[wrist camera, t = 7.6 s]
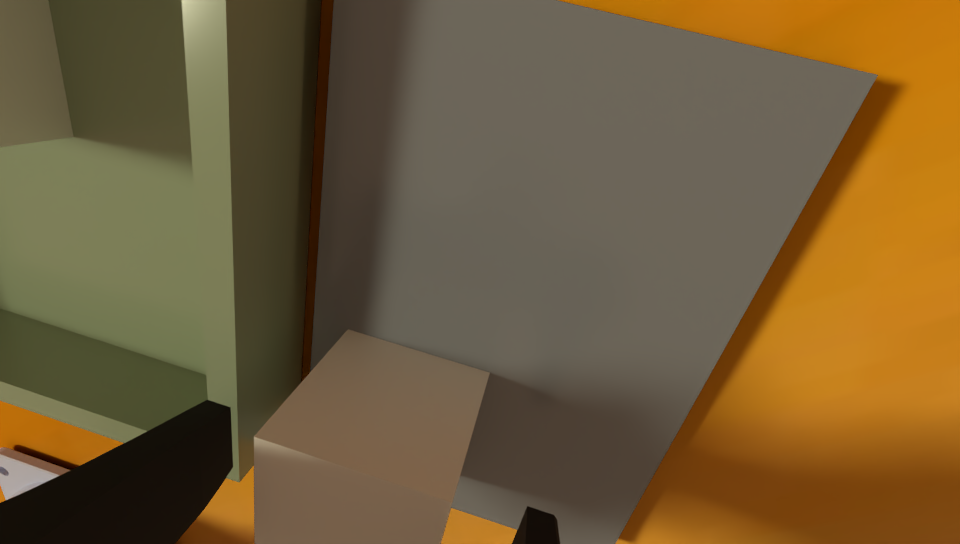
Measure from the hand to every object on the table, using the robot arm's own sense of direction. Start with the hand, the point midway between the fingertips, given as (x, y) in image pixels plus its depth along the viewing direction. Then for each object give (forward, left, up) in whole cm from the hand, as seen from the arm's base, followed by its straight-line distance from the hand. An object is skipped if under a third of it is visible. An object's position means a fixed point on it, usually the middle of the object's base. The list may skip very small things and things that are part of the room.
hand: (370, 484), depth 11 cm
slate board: (+3, -2, -4) cm, 5 cm away
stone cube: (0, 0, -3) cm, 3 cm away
